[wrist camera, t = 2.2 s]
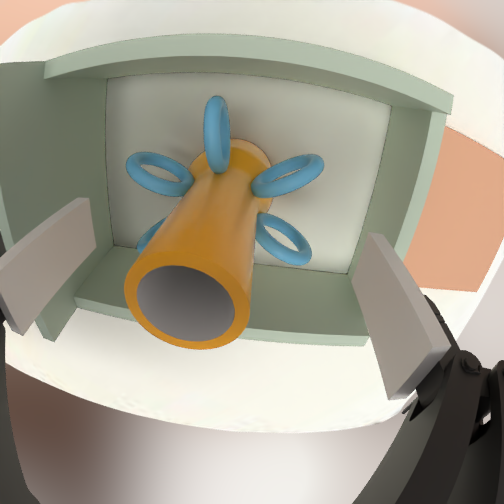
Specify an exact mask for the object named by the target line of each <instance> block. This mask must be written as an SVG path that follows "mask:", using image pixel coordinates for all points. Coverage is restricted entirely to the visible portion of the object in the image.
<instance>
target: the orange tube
mask: <svg viewBox="0 0 504 504" xmlns="http://www.w3.org/2000/svg"><path fill="white" fill-rule="evenodd" d="M203 129H204V145H205V151H204V152H203V153H201V154H200V155H199V156H198V157H197V158H196V159H195V160H194V161H193V162H192V163H191V165H190V166H189V168H188V169H186V168H185V167H184V166H183V165H181V164H180V163H178V162H176V161H175V160H173V159H171V158H168V157H166V156H163V155H160V154H156V153H151V152H138V153H135V154H133V155H131V156H130V157H129V158H128V160H127V162H126V169H127V172H128V174H129V175H130V177H131V178H132V179H133V180H134V181H135V182H137V183H138V184H139V185H141V186H142V187H144V188H146V189H148V190H150V191H153V192H155V193H158V194H161V195H166V196H173V197H179V196H183V198H182V199H181V200H180V201H179V203H178V204H177V205H176V207H175V208H174V209H173V210H172V212H171V213H170V214H169V216H168V217H166V218H164V219H163V220H161V221H160V222H158V223H157V224H155V225H154V226H153V227H152V228H150V229H149V230H148V231H147V232H146V233H145V234H144V235H143V236H142V237H141V238H140V240H139V241H138V244H137V250H138V252H139V253H140V255H139V257H138V258H137V260H136V261H135V263H134V264H133V266H132V267H131V269H130V270H129V272H128V274H127V276H126V279H125V283H124V295H125V299H126V303H127V305H128V308H129V310H130V311H131V313H132V315H133V316H134V318H135V319H136V320H137V321H138V322H139V324H140V325H141V326H142V327H144V328H145V329H146V330H147V331H148V332H150V333H151V334H152V335H154V336H155V337H157V338H159V339H161V340H163V341H165V342H167V343H169V344H172V345H175V346H179V347H183V348H188V349H198V350H202V349H213V348H217V347H221V346H224V345H226V344H228V343H230V342H232V341H234V340H235V339H236V338H238V337H239V336H240V335H241V334H242V332H243V331H244V330H245V328H246V326H247V324H248V321H249V316H250V303H251V290H252V276H253V263H254V249H255V239H256V240H257V242H258V243H259V244H260V245H261V246H262V247H263V248H264V249H265V250H266V251H268V252H269V253H270V254H272V255H273V256H275V257H276V258H278V259H280V260H281V261H284V262H286V263H289V264H292V265H304V264H306V263H308V262H309V261H310V259H311V257H312V251H311V247H310V245H309V243H308V242H307V240H306V239H305V238H304V237H303V235H302V234H301V233H300V232H299V231H298V230H296V229H295V228H294V227H293V226H291V225H290V224H289V223H287V222H286V221H284V220H282V219H280V218H278V217H276V216H274V215H271V214H267V212H268V210H269V208H270V206H271V204H272V200H273V197H276V196H280V195H283V194H286V193H289V192H292V191H294V190H296V189H298V188H301V187H302V186H304V185H306V184H308V183H309V182H311V181H312V180H314V179H315V178H316V177H318V176H319V175H320V173H321V172H322V171H323V168H324V161H323V159H322V158H321V157H320V156H318V155H315V154H307V155H301V156H297V157H293V158H290V159H288V160H285V161H282V162H280V163H278V164H276V165H274V166H272V167H271V164H270V162H269V160H268V158H267V156H266V155H265V153H264V152H263V151H262V150H261V149H260V148H259V147H257V146H256V145H254V144H253V143H251V142H248V141H246V140H242V139H230V123H229V115H228V109H227V105H226V102H225V100H224V99H223V98H222V97H220V96H213V97H211V98H210V99H209V100H208V102H207V104H206V108H205V113H204V127H203ZM143 164H147V165H153V166H157V167H160V168H163V169H165V170H167V171H169V172H171V173H172V174H174V175H175V176H176V177H178V178H179V179H180V181H181V182H171V181H167V180H164V179H161V178H158V177H156V176H154V175H152V174H150V173H148V172H147V171H146V170H144V169H143V168H142V167H141V166H140V165H143ZM298 169H300V170H298ZM295 170H298V171H297V172H295V173H293V174H291V175H288V176H286V177H284V178H281V179H278V180H275V179H277V178H279V177H280V176H282V175H285V174H287V173H289V172H292V171H295ZM273 180H275V181H273ZM264 225H265V226H269V227H272V228H274V229H276V230H278V231H279V232H281V233H282V234H284V235H285V236H286V237H288V238H289V239H290V240H291V241H292V242H293V243H294V244H295V246H296V247H297V249H298V251H299V252H297V251H294V250H292V249H289V248H287V247H286V246H284V245H282V244H281V243H280V242H278V241H277V240H276V239H274V238H273V237H272V236H271V235H270V234H269V233H268V232H267V230H266V229H265V227H264Z"/></svg>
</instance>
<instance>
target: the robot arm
mask: <svg viewBox="0 0 504 504" xmlns="http://www.w3.org/2000/svg"><path fill="white" fill-rule="evenodd" d="M95 248H96V241H95V236H94V230H93V223H92V217H91V209H90V201H89V198H80V197H78V198H76V199H75V200H73V201H72V202H70V203H69V204H67V205H66V206H64V207H63V208H61V209H60V210H59V211H57V212H56V213H54V214H53V215H52V216H50V217H49V218H48V219H46V220H45V221H44V222H42V223H41V224H40V225H38V226H37V227H36V228H35V229H33V230H32V231H31V232H30V233H28V234H27V235H26V236H25V237H23V238H22V239H21V240H20V241H19V242H17V243H16V244H15V245H14V246H13V247H11V248H10V249H9V250H8V251H7V252H6V248H5V245H4V242H3V238H2V235H1V231H0V504H40V503H39V501H38V500H37V499H36V498H35V497H34V496H33V495H32V493H31V492H30V491H29V490H28V488H27V485H26V483H25V480H24V477H23V473H22V470H21V467H20V463H19V459H18V455H17V451H16V447H15V443H14V438H13V432H12V427H11V421H10V415H9V407H8V400H7V388H6V373H5V327H4V326H3V324H2V323H3V322H4V321H5V320H6V321H7V322H8V324H9V326H10V328H11V330H12V331H14V332H16V333H18V334H20V335H22V336H23V335H24V334H25V333H26V331H27V330H28V328H29V327H30V326H31V324H32V323H33V322H34V320H35V319H36V318H37V316H38V315H39V314H40V312H41V311H42V310H43V308H44V307H45V306H46V305H47V303H48V302H49V301H50V300H51V298H52V297H53V296H54V295H55V293H56V292H57V291H58V290H59V289H60V287H61V286H62V285H63V284H64V283H65V281H66V280H67V279H68V278H69V277H70V276H71V274H72V273H73V272H74V271H75V270H76V269H77V268H78V267H79V265H80V264H81V263H82V262H83V261H84V260H85V259H86V258H87V257H88V256H89V255H90V254H91V252H92V251H93V250H94V249H95ZM351 283H352V285H353V288H354V291H355V293H356V296H357V299H358V302H359V305H360V308H361V310H362V313H363V316H364V319H365V322H366V325H367V328H368V331H369V335H370V338H371V341H372V344H373V347H374V351H375V354H376V357H377V361H378V364H379V368H380V371H381V375H382V378H383V382H384V386H385V390H386V393H387V397H388V400H396V399H404V398H407V397H408V396H409V395H410V394H411V393H412V392H413V391H414V390H415V389H416V391H417V394H418V397H417V398H416V399H415V400H414V401H413V402H412V403H411V404H410V405H409V406H408V407H406V408H405V409H404V411H403V412H402V414H405V413H406V412H407V411H408V410H409V412H408V414H407V416H406V418H405V420H404V422H403V424H402V426H401V428H400V430H399V432H398V434H397V436H396V438H395V439H394V441H393V443H392V445H391V447H390V448H389V450H388V452H387V454H386V455H385V457H384V458H383V460H382V461H381V463H380V465H379V466H378V468H377V470H376V471H375V473H374V474H373V476H372V477H371V479H370V480H369V481H368V483H367V484H366V486H365V487H364V489H363V490H362V491H361V493H360V494H359V496H358V497H357V498H356V499H355V501H354V502H353V503H352V504H504V360H501V361H499V362H498V363H497V365H495V367H494V368H493V369H492V370H491V369H487V368H482V366H481V363H480V361H479V360H478V359H477V357H476V356H475V355H473V354H472V353H470V352H468V351H466V350H460V349H459V347H458V345H457V343H456V341H455V339H454V337H453V335H452V333H451V331H450V330H449V328H448V326H447V324H446V323H445V321H444V319H443V317H442V315H440V312H439V310H438V309H437V307H436V305H435V304H434V303H433V302H432V301H431V300H430V299H429V298H428V297H427V296H426V295H423V294H422V292H421V290H420V289H419V287H418V286H417V284H416V282H415V281H414V279H413V278H412V276H411V274H410V273H409V271H408V270H407V268H406V267H405V265H404V264H403V262H402V261H401V259H400V258H399V256H398V255H397V253H396V252H395V250H394V249H393V248H392V246H391V245H390V243H389V242H388V240H387V239H386V238H385V236H384V235H383V234H378V233H373V232H368V235H367V238H366V241H365V244H364V247H363V250H362V253H361V256H360V259H359V262H358V264H357V267H356V270H355V273H354V275H353V278H352V281H351ZM490 412H491V419H490V420H489V421H488V422H487V423H486V424H483V418H484V417H485V416H487V415H488V414H489V413H490Z"/></svg>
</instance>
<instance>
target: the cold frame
mask: <svg viewBox="0 0 504 504" xmlns="http://www.w3.org/2000/svg"><path fill="white" fill-rule="evenodd" d="M175 72H209V73H231V74H244V75H255V76H264V77H272V78H279V79H286V80H292V81H298V82H303V83H309V84H314V85H319V86H323V87H328V88H332V89H336V90H340V91H344V92H348V93H352V94H356V95H359V96H363V97H366V98H369V99H373V100H376V101H379V102H382V103H385V104H388V105H391V106H392V110H391V115H390V121H389V126H388V131H387V136H386V141H385V145H384V150H383V154H382V159H381V163H380V167H379V171H378V175H377V179H376V183H375V187H374V191H373V194H372V198H371V202H370V205H369V209H368V212H367V216H366V219H365V222H364V225H363V229H362V232H361V235H360V238H359V241H358V244H357V247H356V250H355V253H354V256H353V259H352V262H351V265H350V268H349V271H348V273H347V274H339V273H330V272H321V271H312V270H304V269H295V268H286V267H278V266H269V265H261V264H253V276H252V290H251V303H250V316H249V321H248V324H247V326H246V328H245V330H244V331H243V332H242V334H241V335H240V336H239V337H238V338H239V339H248V340H258V341H268V342H280V343H293V344H308V345H328V346H364V345H365V344H366V342H367V340H368V338H369V337H370V335H369V332H368V329H367V325H366V322H365V319H364V316H363V313H362V310H361V308H360V305H359V302H358V299H357V296H356V293H355V291H354V288H353V285H352V283H351V281H352V278H353V275H354V273H355V270H356V267H357V264H358V262H359V259H360V256H361V253H362V250H363V247H364V244H365V241H366V238H367V235H368V232H373V233H378V234H383V235H384V236H385V238H386V239H387V240H388V242H389V243H390V245H391V246H392V248H393V249H394V250H395V252H396V253H397V255H398V256H399V258H400V259H401V261H402V262H403V261H404V258H405V256H406V253H407V251H408V249H409V246H410V243H411V241H412V238H413V236H414V233H415V230H416V228H417V225H418V222H419V219H420V216H421V213H422V210H423V207H424V204H425V201H426V198H427V195H428V192H429V188H430V185H431V182H432V178H433V174H434V171H435V167H436V163H437V159H438V155H439V151H440V147H441V142H442V137H443V133H444V127H445V122H446V117H447V114H449V115H451V110H452V104H453V97H454V95H452V94H450V93H448V92H446V91H444V90H442V89H440V88H438V87H436V86H434V85H432V84H430V83H428V82H426V81H424V80H422V79H419V78H417V77H415V76H413V75H410V74H408V73H406V72H403V71H401V70H398V69H396V68H393V67H390V66H388V65H385V64H382V63H379V62H376V61H373V60H370V59H367V58H364V57H361V56H358V55H354V54H351V53H347V52H344V51H340V50H336V49H332V48H328V47H323V46H319V45H314V44H309V43H304V42H298V41H293V40H286V39H279V38H272V37H263V36H252V35H239V34H178V35H164V36H154V37H146V38H138V39H131V40H125V41H119V42H114V43H109V44H104V45H100V46H95V47H91V48H87V49H83V50H80V51H76V52H73V53H69V54H66V55H63V56H60V57H57V58H54V59H51V60H48V61H35V62H13V63H1V64H0V231H1V235H2V238H3V242H4V245H5V248H6V252H7V251H8V250H9V249H10V248H11V247H13V246H14V245H15V244H16V243H17V242H19V241H20V240H21V239H22V238H23V237H25V236H26V235H27V234H28V233H30V232H31V231H32V230H33V229H35V228H36V227H37V226H38V225H40V224H41V223H42V222H44V221H45V220H46V219H48V218H49V217H50V216H52V215H53V214H54V213H56V212H57V211H59V210H60V209H61V208H63V207H64V206H66V205H67V204H69V203H70V202H72V201H73V200H75V199H76V198H78V197H80V198H89V201H90V209H91V217H92V223H93V230H94V236H95V241H96V248H95V249H94V250H93V251H92V252H91V254H90V255H89V256H88V257H87V258H86V259H85V260H84V261H83V262H82V263H81V264H80V265H79V267H78V268H77V269H76V270H75V271H74V272H73V273H72V274H71V276H70V277H69V278H68V279H67V280H66V281H65V283H64V284H63V285H62V286H61V287H60V289H59V290H58V291H57V292H56V293H55V295H54V296H53V297H52V298H51V300H50V301H49V302H48V303H47V305H46V306H45V307H44V308H43V310H42V311H41V312H40V314H39V315H38V316H37V318H36V319H35V322H36V324H37V326H38V328H39V330H40V332H41V334H42V336H43V338H45V339H48V340H50V341H53V342H55V340H56V339H57V337H58V336H59V334H60V332H61V331H62V329H63V328H64V326H65V325H66V323H67V322H68V320H69V319H70V317H71V316H72V314H73V313H74V311H75V310H76V308H77V307H78V308H81V309H85V310H89V311H93V312H97V313H101V314H105V315H109V316H113V317H117V318H122V319H126V320H131V321H135V322H138V321H137V320H136V319H135V318H134V316H133V315H132V313H131V311H130V310H129V308H128V305H127V303H126V299H125V295H124V283H125V279H126V276H127V274H128V272H129V270H130V269H131V267H132V266H133V264H134V263H135V261H136V260H137V258H138V257H139V255H140V253H139V252H138V250H137V249H135V248H128V247H121V246H114V242H113V236H112V228H111V220H110V212H109V202H108V190H107V176H106V155H105V111H106V90H107V78H114V77H122V76H131V75H141V74H154V73H175Z"/></svg>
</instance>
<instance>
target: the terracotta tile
mask: <svg viewBox="0 0 504 504" xmlns="http://www.w3.org/2000/svg"><path fill="white" fill-rule="evenodd" d="M503 237H504V158H502V157H500V156H499V155H497V154H496V153H494V152H492V151H491V150H489V149H487V148H486V147H484V146H482V145H480V144H479V143H477V142H475V141H473V140H471V139H470V138H468V137H466V136H464V135H462V134H460V133H458V132H456V131H454V130H452V129H450V128H448V127H446V126H445V127H444V133H443V137H442V142H441V147H440V151H439V155H438V159H437V163H436V167H435V171H434V174H433V178H432V182H431V185H430V188H429V192H428V195H427V198H426V201H425V204H424V207H423V210H422V213H421V216H420V219H419V222H418V225H417V228H416V230H415V233H414V236H413V238H412V241H411V243H410V246H409V249H408V251H407V253H406V256H405V258H404V261H403V264H404V265H405V267H406V268H407V270H408V271H409V273H410V274H411V276H412V278H413V279H414V281H415V282H416V284H417V286H418V287H422V288H433V289H445V290H458V291H471V292H477V291H478V289H479V287H480V285H481V283H482V282H483V280H484V278H485V276H486V274H487V272H488V270H489V268H490V266H491V264H492V262H493V260H494V258H495V256H496V253H497V251H498V249H499V247H500V244H501V242H502V240H503Z"/></svg>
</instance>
